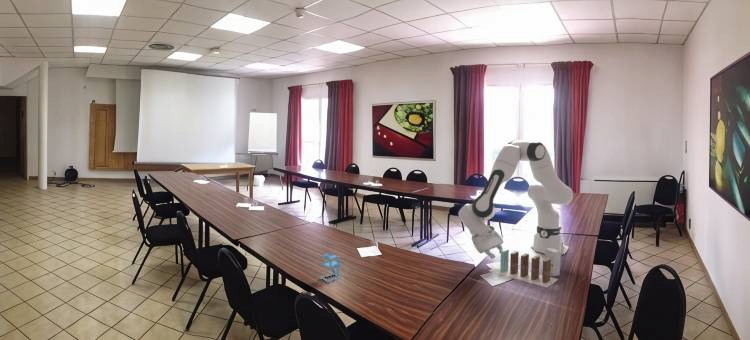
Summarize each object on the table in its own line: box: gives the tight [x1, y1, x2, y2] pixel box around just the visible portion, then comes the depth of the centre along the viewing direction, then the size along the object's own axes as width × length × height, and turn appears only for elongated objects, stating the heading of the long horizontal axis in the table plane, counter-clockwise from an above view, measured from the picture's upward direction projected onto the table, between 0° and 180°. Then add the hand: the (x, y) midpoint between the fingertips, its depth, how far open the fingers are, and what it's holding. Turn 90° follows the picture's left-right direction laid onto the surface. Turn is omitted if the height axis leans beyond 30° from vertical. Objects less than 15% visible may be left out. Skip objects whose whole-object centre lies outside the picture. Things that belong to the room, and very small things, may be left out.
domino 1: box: [499, 248, 510, 272], centre depth 180 cm, size 2×5×10 cm, turn 134°
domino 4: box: [530, 255, 541, 280], centre depth 170 cm, size 2×5×10 cm, turn 134°
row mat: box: [488, 264, 559, 288], centre depth 174 cm, size 13×28×1 cm, turn 44°
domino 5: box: [541, 258, 551, 283], centre depth 166 cm, size 2×5×10 cm, turn 134°
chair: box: [319, 252, 342, 283], centre depth 173 cm, size 8×8×12 cm
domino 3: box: [520, 253, 530, 277], centre depth 173 cm, size 2×5×10 cm, turn 134°
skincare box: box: [544, 248, 562, 277], centre depth 176 cm, size 6×4×12 cm
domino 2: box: [509, 250, 520, 275], centre depth 177 cm, size 2×5×10 cm, turn 134°
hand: (498, 255), depth 182 cm, fingers open, 8 cm apart
